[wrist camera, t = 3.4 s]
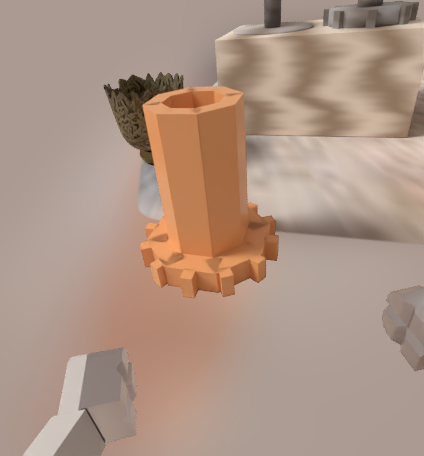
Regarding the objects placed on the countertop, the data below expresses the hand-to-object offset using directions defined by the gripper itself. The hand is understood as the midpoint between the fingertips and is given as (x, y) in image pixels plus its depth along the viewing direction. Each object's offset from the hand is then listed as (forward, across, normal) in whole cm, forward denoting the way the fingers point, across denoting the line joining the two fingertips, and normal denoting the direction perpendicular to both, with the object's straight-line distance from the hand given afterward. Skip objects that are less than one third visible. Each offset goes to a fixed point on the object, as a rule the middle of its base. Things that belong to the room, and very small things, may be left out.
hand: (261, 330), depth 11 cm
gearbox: (+35, -17, +6) cm, 39 cm away
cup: (+29, +3, +6) cm, 30 cm away
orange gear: (+12, 0, +6) cm, 13 cm away
